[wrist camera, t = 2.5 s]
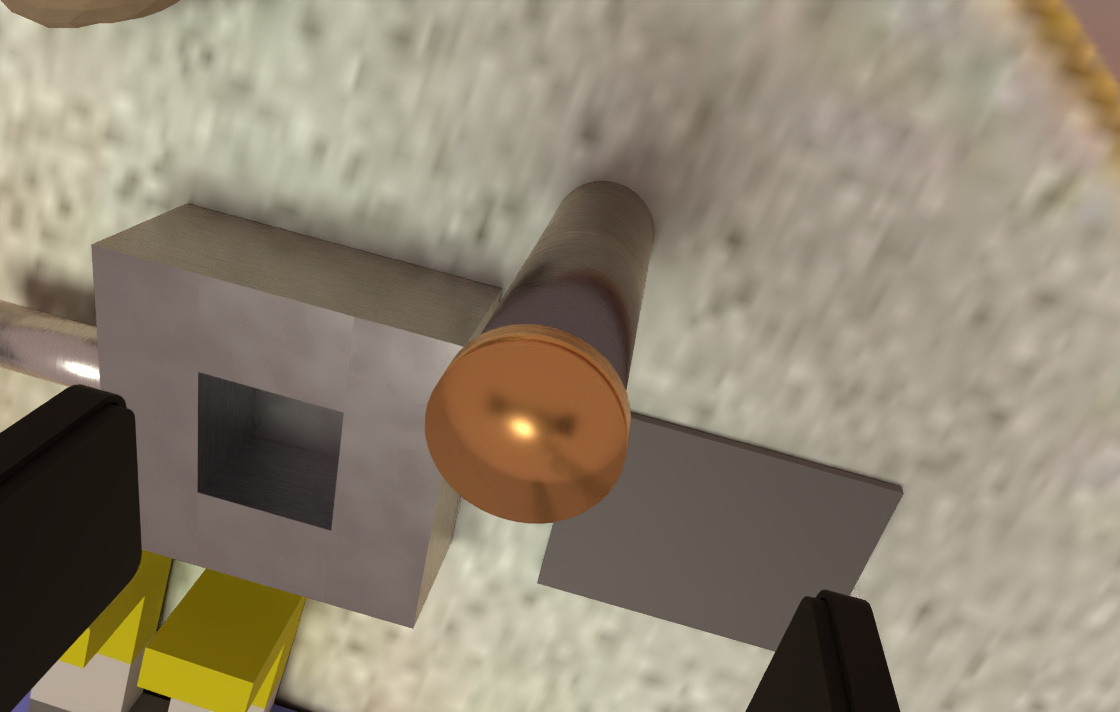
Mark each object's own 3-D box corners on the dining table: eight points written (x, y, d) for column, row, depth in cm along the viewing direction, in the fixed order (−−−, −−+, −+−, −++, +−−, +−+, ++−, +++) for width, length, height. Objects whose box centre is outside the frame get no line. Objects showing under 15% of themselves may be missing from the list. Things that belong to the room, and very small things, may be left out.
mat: (901, 486, 29) (903, 493, 28) (813, 655, 33) (814, 662, 32) (587, 400, 29) (586, 405, 29) (538, 576, 33) (537, 583, 33)
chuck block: (502, 288, 28) (464, 347, 23) (451, 542, 33) (413, 628, 29) (7, 155, 29) (-119, 187, 24) (36, 423, 34) (-62, 489, 30)
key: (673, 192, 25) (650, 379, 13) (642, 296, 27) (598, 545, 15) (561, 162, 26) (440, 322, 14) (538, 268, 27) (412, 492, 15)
